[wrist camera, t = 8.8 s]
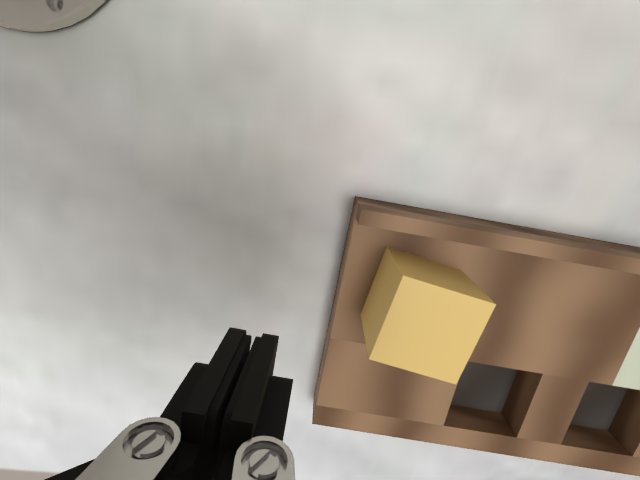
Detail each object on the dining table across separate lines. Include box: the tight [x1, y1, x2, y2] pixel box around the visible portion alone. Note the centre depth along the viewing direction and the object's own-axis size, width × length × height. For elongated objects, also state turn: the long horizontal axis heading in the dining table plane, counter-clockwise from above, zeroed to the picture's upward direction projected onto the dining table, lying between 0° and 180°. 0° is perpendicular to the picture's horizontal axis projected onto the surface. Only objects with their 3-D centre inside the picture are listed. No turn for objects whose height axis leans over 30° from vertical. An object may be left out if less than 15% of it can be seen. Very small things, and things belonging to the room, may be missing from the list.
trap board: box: [312, 196, 640, 476], centre depth 22 cm, size 25×15×4 cm, turn 80°
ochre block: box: [360, 247, 496, 384], centre depth 19 cm, size 4×4×4 cm
